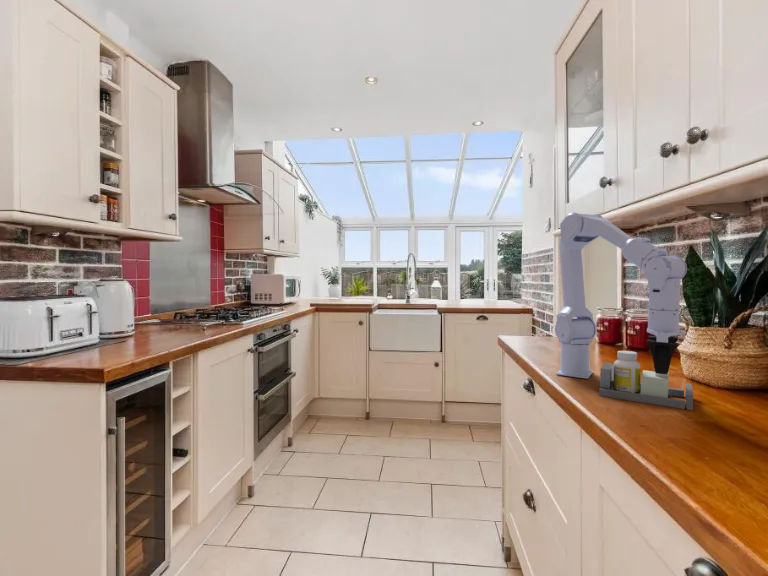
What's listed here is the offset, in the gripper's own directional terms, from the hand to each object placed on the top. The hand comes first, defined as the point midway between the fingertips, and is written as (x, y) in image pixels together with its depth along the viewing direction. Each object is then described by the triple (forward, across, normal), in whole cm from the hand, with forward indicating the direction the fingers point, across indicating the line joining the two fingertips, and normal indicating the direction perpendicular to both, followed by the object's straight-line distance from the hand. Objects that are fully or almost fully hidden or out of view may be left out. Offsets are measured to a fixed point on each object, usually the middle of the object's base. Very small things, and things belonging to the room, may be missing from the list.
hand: (661, 370), depth 93 cm
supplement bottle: (+7, 0, +7) cm, 9 cm away
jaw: (+6, 0, +1) cm, 6 cm away
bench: (+6, 0, +3) cm, 7 cm away
